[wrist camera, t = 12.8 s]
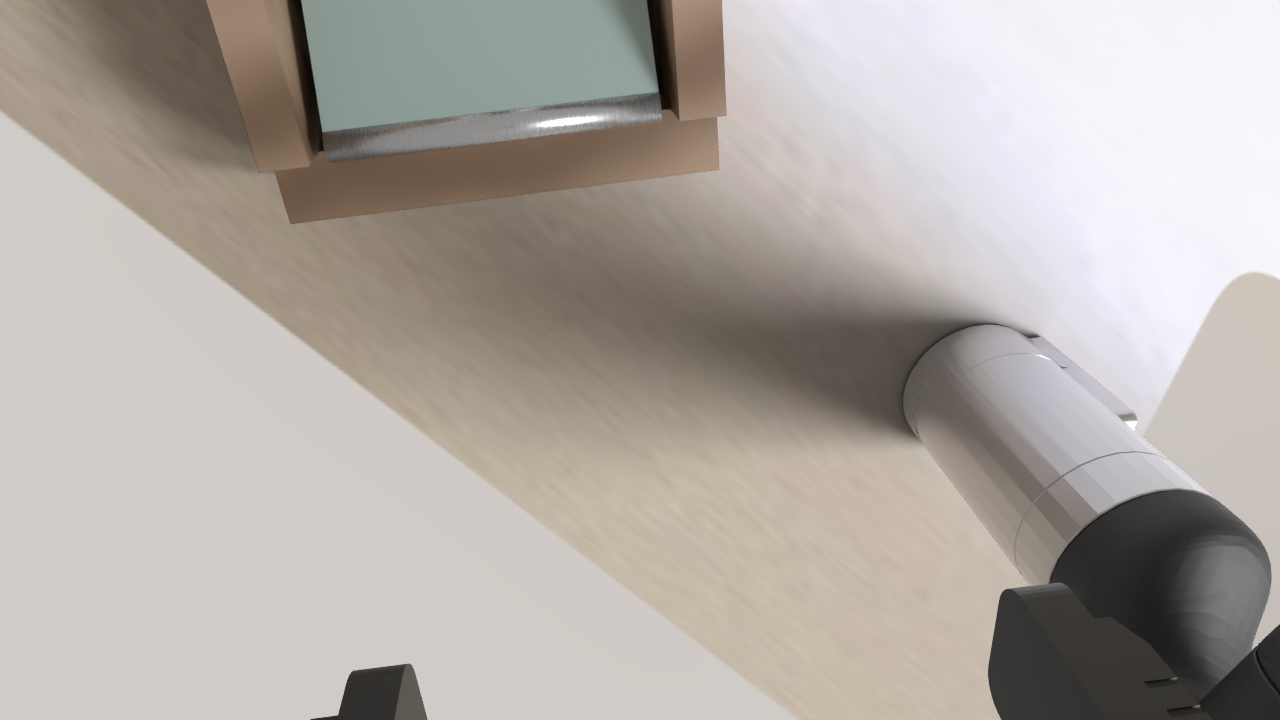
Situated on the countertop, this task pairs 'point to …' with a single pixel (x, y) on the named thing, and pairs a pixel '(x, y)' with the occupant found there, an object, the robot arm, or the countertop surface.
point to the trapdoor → (476, 72)
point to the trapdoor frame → (318, 190)
